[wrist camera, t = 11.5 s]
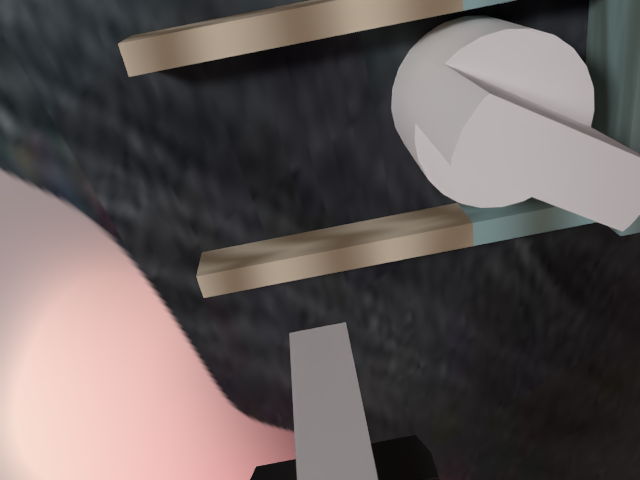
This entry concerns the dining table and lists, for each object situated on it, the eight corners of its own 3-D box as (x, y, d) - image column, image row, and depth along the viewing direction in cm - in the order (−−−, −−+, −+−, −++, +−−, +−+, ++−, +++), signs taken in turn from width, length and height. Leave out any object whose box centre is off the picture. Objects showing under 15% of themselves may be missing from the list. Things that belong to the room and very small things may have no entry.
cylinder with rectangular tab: (366, 139, 33) (409, 228, 22) (434, -13, 29) (526, 7, 18) (492, 187, 35) (587, 289, 24) (571, 51, 31) (723, 101, 20)
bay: (208, 272, 36) (199, 316, 32) (131, 35, 29) (106, 49, 24) (601, 196, 36) (647, 230, 31) (622, -62, 29) (686, -66, 24)
